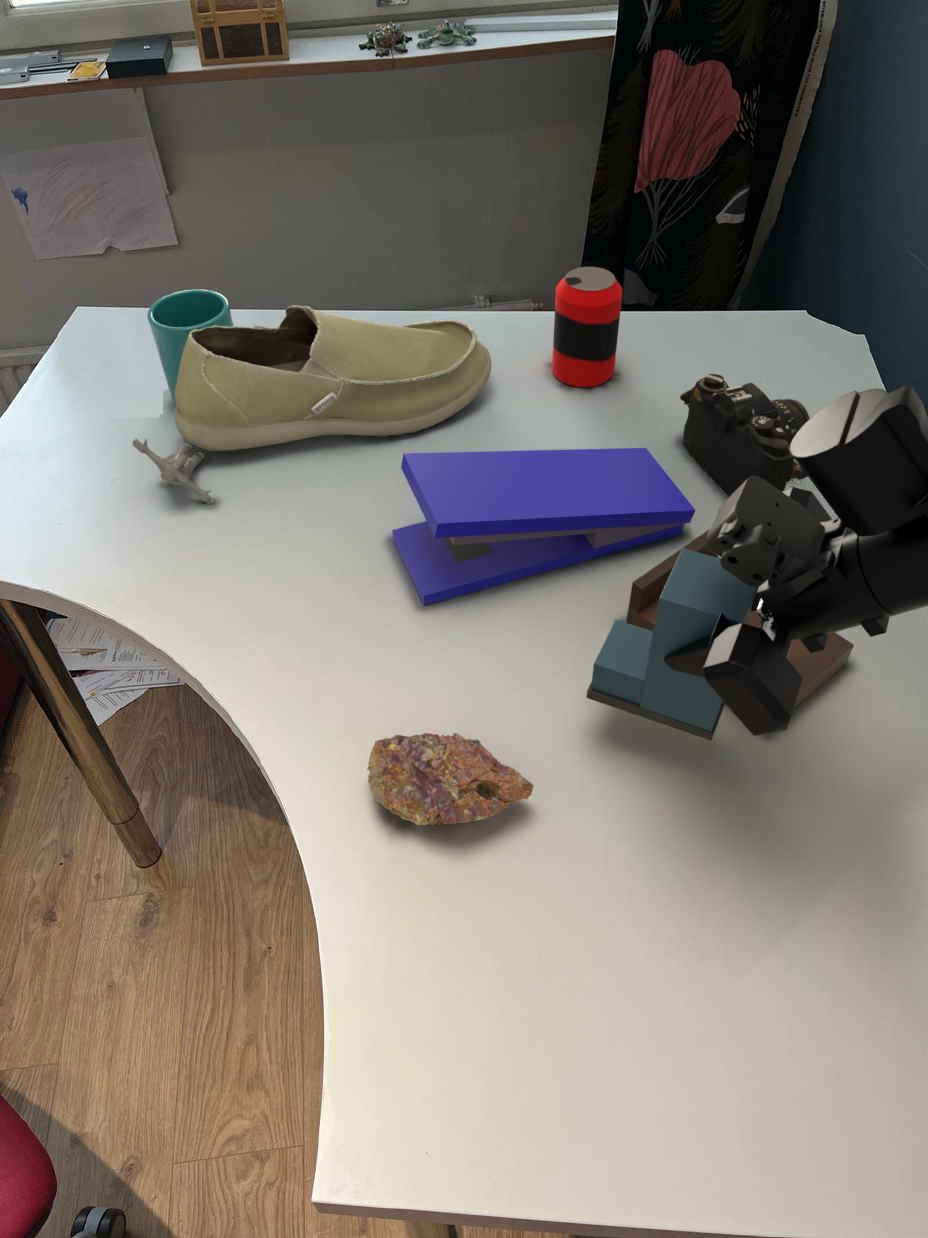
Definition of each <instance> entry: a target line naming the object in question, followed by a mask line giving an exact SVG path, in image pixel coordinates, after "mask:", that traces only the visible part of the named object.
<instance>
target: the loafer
mask: <svg viewBox="0 0 928 1238" xmlns="http://www.w3.org/2000/svg"><path fill="white" fill-rule="evenodd" d="M491 373H492V357H491V354H490V351H489V350H488V348H487V346H486V345H484V343H482V342H481V341H479V340H478V336H477V333H476V331H475V329H473V328H472V327H471V325H469V324H467V323H465V322H462V321H461V320H458V319H455V320H453V319H452V320H451V319H450V320H447V319H445V320H434V321H429V320H427V321H426V322H423V321H421V322H419V323H410V324H406V325H392V324H385V323H377V322H371V321H365V320H359V319H353V318H349V317H345V316H341V315H337V314H332V313H329V312H324V311H321V310H315V309H313V308H311V307H310V306H309V305H304V306H303V305H290V306H288V307H286V308H285V317H284V318H283V319H282V320H281V322H280V324H279V325H278V326H277V327H265V326H261V325H253V326H252V327H251V326H234V327H233V326H231V327H227V326H215V325H213V326H209V327H204V328H202V329H200V330H197V329H195V330H192V331H191V332H190V333H189V335H188V338H187V341H186V344H185V347H184V350H183V354H182V358H181V362H180V367H179V373H178V379H177V384H176V388H175V400H176V404H175V409H174V423H175V427H176V430H177V432H178V433H179V434H180V435H181V437H182V438H184V440H186V442H187V443H189V444H190V445H193V446H195V447H198V448H199V449H203V450H205V451H208V452H209V451H210V452H213V451H217V452H226V451H230V452H231V451H238V450H248V449H251V448H252V449H253V448H254V449H255V448H261V447H269V446H272V445H279V444H285V443H290V442H295V441H300V440H304V439H310V438H314V437H320V436H335V435H336V436H363V437H364V436H369V437H370V436H372V437H373V436H376V437H388V436H400V435H405V434H412V433H417V432H420V431H421V430H424V429H425V430H426V429H429V428H431V427H433V426H435V425H438V424H440V423H442V422H444V421H446V420H447V419H449V418H450V417H452V416H454V415H456V413H458V412H459V411H461V410H462V409H464V408H465V407H466V406H468V405H469V404H470V403H471V402H473V400H475V398H476V397H477V396H478V395H479V394H480V393H481V392H482V390H483V389H484V387H485V386H486V384H487V383H488V380H489V379H490V375H491Z"/></svg>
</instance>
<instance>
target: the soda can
mask: <svg viewBox="0 0 928 1238" xmlns="http://www.w3.org/2000/svg"><path fill="white" fill-rule="evenodd" d="M622 300H623V287H622V286H621V284H620V283H619V281H618V280H617V278H616V277H615V275H614V273H612V272H611V271H610V270H608V269H606V268H602V267H597V266H581V267H577V268H574V269H571V270H570V271H568V272H567V273H566V274H565V276H563V278H562V279H561V280H560V281H559V283H557V285H556V288H555V302H554V303H555V304H554V321H553V340H552V358H551V370H552V373H553V375H554V376H555V377H556V378H557V379H558V380H559V381H560V382H562V383H563V384H566V385H569V386H572V387H576V388H592V387H597V386H600V385H602V384H604V383H606V382H607V381H608V380H609V379H610V378H612V376H613V375H614V373H615V366H616V357H617V356H616V355H617V348H618V347H617V346H618V339H619V338H618V337H619V330H620V329H619V328H620V320H621V319H620V318H621V311H622Z"/></svg>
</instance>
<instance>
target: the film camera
mask: <svg viewBox="0 0 928 1238" xmlns="http://www.w3.org/2000/svg"><path fill="white" fill-rule="evenodd" d="M679 399H680V400H681V401H682V402H683V405H685V406H687V408H688V412H687V418H686V420H685V424H684V427H683V432H682V434H683V435H682V444H683V445H686V447H687V450H688V452H689V454H690V455H692V458H693V459H695V460H696V461H697V462H698V463H699V464H700V465H701V467H702V468H703V469H704V470H706V472H707V473H708V474H709V475H710V476H711V477H712V479H713V480H714V481H715V482H716V483H717V484H718V485H719V486H720V487H721V488H722V489H723V490H724V491H725V492H726V493H727V494H728V495H729V497H730V496H731V495H732V494H733V493H734V492H735V491H736V490H737V489H738V488H739V487H740V486H741V485H742V484H743V483H744V482H745V481H746V480H747V479H748V478H749V477H751V476H757V477H760V478H762V479H764V480H765V481H767V482H768V483H770V484H771V485H773V486H774V487H776V488H777V489H779V490H780V491H781V492H782V491H784V490H786V486H787V484H788V482H789V481H792V480H794V479H796V480H798V481H799V480H804V479H805V478H807V477H808V476H807V474H806V473H805V472H804V470H803V469H802V468H801V466H800V465H799V464H798V462H797V461H796V460H795V458H794V457H793V456H792V454H791V452H790V444H791V442H792V440H793V438H794V437H795V435H796V433H797V432H798V431H799V430H800V429H801V427H802V426H803V425H804V424H805V423H806V422H807V421H808V420H809V419H810V418H811V417H810V415H809V412H808V409H806V407H805V406H804V405H803V404H802V403H801V402H800V401H799V400H796V399H793V398H785V399H782V398H778V399H772V400H771V399H770V398H769V397H768V396H767V395H766V394H765V392H764V391H763V390H762V389H760V388H759V387H758V386H757V385H756V384H754V383H753V382H748V383H745V384H741V385H737V386H729V383H728V382H727V381H725V378H724V376H723V375H721V374H719V373H709V374H707V375H705V376H704V377H701V378H700V379H699V380H697V381H696V382H695V384H694V386H693V387H692V388H690V389H689V390H687V391H685V392H684V393H682V394H681V395H680V396H679ZM808 478H809V477H808Z"/></svg>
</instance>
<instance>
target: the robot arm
mask: <svg viewBox="0 0 928 1238" xmlns="http://www.w3.org/2000/svg"><path fill="white" fill-rule="evenodd" d="M809 418H810V419H809V420H808V421H807V422H806V423H805V424H804V425H803V426H802V427H801V429H800V430H799V431H798V432H797V433H796V435H795V437H794V438H793V440H792V442H791V444H790V452H791V454H792V456H793V457H794V460H796V461H797V464H798V465H800V466H801V468H802V469H803V470H804V472H805V473H806V474H807V476H808V478H809V480H810V481H811V483H812V484H813V485H814V487H815V488H816V489H817V491H818V492H819V493H820V495H821V496H822V498H823V499H824V500H825V502H826V503H827V504H828V505H829V507H830V508H831V510H832V511H833V513H834V514H835V515H836V516H837V517H834V518H832V517H831V516H830V514H829V513H828V511H827V509H825V507H824V506H823V505H822V503H821V502H820V501H819V499H818V498H817V496H816V495H815V494H814V492H813V491H811V490H807V489H803V488H799V487H795V486H791V487H789V488H787V489H785V490H784V491H782V492H781V491H780V490H779V489H777V488H776V487H774V486H773V485H771V484H770V483H768V482H767V481H765V480H764V479H762V478H760V477H757V476H751V477H749V478H748V479H747V480H746V481H745V482H744V483H743V484H742V485H741V486H740V487H739V488H738V489H737V490H736V491H735V492H734V493H733V494H732V495H731V496H730V495H729V496H728V498H727V499H726V500H725V501H724V502H723V503H722V504H721V505H720V506H719V507H718V509H717V514H716V516H715V518H714V520H713V523H712V525H711V527H710V528H711V529H710V528H709V529H710V530H709V529H708V530H709V532H708V534H707V537H706V538H707V544H708V546H709V547H710V549H711V550H712V551H713V552H714V553H716V554H717V555H718V557H719V558H721V559H720V562H721V566H722V568H723V569H725V570H726V571H728V572H729V573H731V574H732V575H733V576H735V577H736V578H738V579H739V580H741V581H742V582H744V583H745V584H747V585H748V586H757V590H756V593H755V597H754V600H753V603H752V607H751V610H750V612H751V611H757V614H758V615H759V617H760V618H761V622H760V625H759V628H758V627H754V626H751V625H748V624H744V623H740V624H737V625H734V626H733V625H732V624H731V623H730V621H729V620H728V619H727V618H726V616H725V615H724V614H723V613H722V612H721V613H720V614H719V617H718V619H717V622H716V624H715V627H714V629H713V632H712V634H711V635H709V636H706V637H704V638H702V639H699V640H697V641H695V642H692V643H690V644H688V645H686V646H683V647H681V648H679V649H677V650H675V651H673V652H671V653H670V654H668V655H666V656H665V658H664V662H665V663H666V664H667V665H668V666H669V667H670V668H671V669H672V670H676V671H680V672H684V673H688V674H692V675H696V676H700V677H704V678H705V679H706V681H707V683H708V684H709V685H710V686H711V687H712V688H713V690H714V691H715V692H716V693H717V694H718V695H719V696H720V698H721V699H722V700H723V701H724V702H725V705H726V706H727V707H728V708H729V709H730V711H731V712H732V713H733V714H734V715H735V716H736V717H737V718H738V720H739V721H740V723H742V725H743V726H744V727H745V728H746V729H747V730H748V732H749V733H750V734H751V735H752V736H753V737H754V736H763V735H768V734H772V733H778V732H783V731H787V729H788V727H789V724H790V721H791V718H792V716H793V712H794V710H795V708H794V706H795V702H796V699H797V696H798V692H799V689H800V686H801V682H802V679H803V677H802V676H801V675H800V673H799V672H798V671H797V670H796V669H795V667H794V666H793V665H792V664H791V662H790V661H789V660H788V654H789V651H790V648H791V645H792V642H793V640H797V639H800V641H801V642H802V643H803V644H804V646H805V647H806V648H807V649H808V651H809V652H810V653H813V652H817V651H821V650H824V649H825V646H826V643H827V639H828V636H829V634H831V633H834V632H835V633H837V632H841V631H844V630H848V629H851V628H855V627H858V626H861V627H862V628H863V630H864V631H865V632H866V634H868V636H869V637H870V638H872V637H875V636H879V635H883V634H886V633H887V631H888V626H889V621H890V618H891V617H894V616H898V615H900V614H904V613H909V612H912V611H915V610H918V609H921V608H925V607H928V414H927V412H926V409H925V406H924V403H923V401H922V399H921V398H920V396H919V395H918V393H917V392H916V391H915V388H914V387H913V386H912V385H907V384H906V385H903V386H901V387H899V388H897V389H894V390H893V391H891V392H888V391H887V390H885V389H883V388H871V389H870V388H869V389H866V390H863V391H859V392H858V391H857V390H852V391H851V392H847V393H846V394H844V395H842V396H840V397H839V398H837V399H835V400H833V401H832V402H830V403H829V404H827V405H826V406H824V407H823V408H821V409H820V410H819V411H817V412H816V413H815V414H814V415H812V416H811V417H809Z"/></svg>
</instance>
